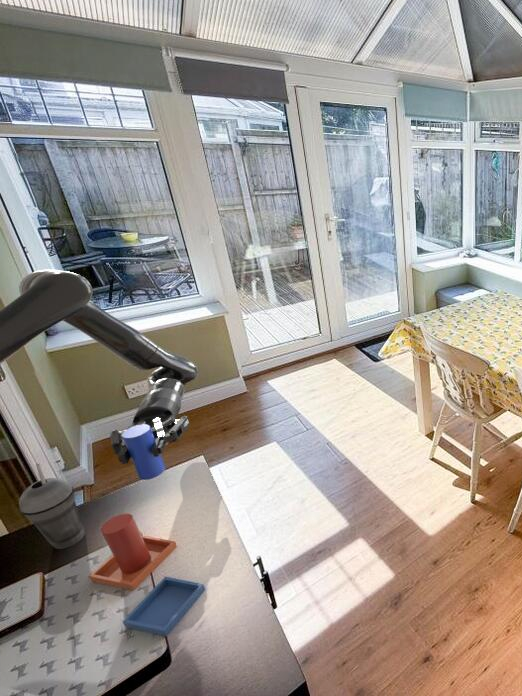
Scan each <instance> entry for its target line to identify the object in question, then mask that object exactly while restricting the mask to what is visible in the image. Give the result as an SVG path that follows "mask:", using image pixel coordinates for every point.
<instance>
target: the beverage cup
mask: <svg viewBox="0 0 522 696" xmlns="http://www.w3.org/2000/svg"><path fill="white" fill-rule="evenodd" d="M35 467H36V470H37V473H38V476H39V479H40V480H38V481H35V482H33V483H32V484H30V485H29V486H28V487H26V489H25V490H23V492H22V494H21V495H20V498H19V499H18V504H19V505H18V506H19V511H20V514H22V515H23V516H24V517H25V518H27V519H28V520H30V521H31V523H32V524H33V525H34V526H35V527H36V529H37V530H38V531H39V532H40V534H41V535H42V536H43V537H44V538H45V540H47V542H48V543H49V544H50V546H52V547H53V548H54V549H56V550H63V549H64V550H65V549H67V548H70V547H72V546H74V545H76V544H77V543H79V542H80V541H81V540H82V539H83V538H84V536H85V533H86V532H85V531H86V530H85V527H84V524H83V521H82V518H81V515H80V512H79V508H78V506H77V503H76V498H75V497H76V496H75V488H74V487H73V486H72V485H71V484H70V483H69V482H68V481H66V480H64V479H62V478H57V477H50V478H45V476H44V473H43V470H42V466H41V463H36V464H35Z"/></svg>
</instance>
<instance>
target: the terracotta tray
mask: <svg viewBox="0 0 522 696" xmlns="http://www.w3.org/2000/svg"><path fill="white" fill-rule="evenodd" d="M141 536H142V538H143V540H144V542H145V544H146V546H147V549H148V551H149V553H150V555H151V558H150V561H149V562H148V564H147V565H146V566H145V567H143V568H142V569H140V570H139V571H137V572H134V573H131V574H124V573H122V571H121V569H120V567H119V565H118V563H117V561H116V559H115V557H114V556H113V554H112V555H111V556H110V557H109V558H108V559H106V560H105V562H103V563H102V564H101V565H100V566H99V567H98V568H97V569H96V570H94V571H93V572H92V573H91V574H90V575H88V576H89V578H90V581H91V582H92V583H96V584H100V585H101V584H102V585H105V586H111V587H115V588H119V589H125V590H129V591H135V590H136V589H137V588H138V587H139V586H140V585H141V584H142V583H143V582H144V581H145V580H146V579H147V578H148V577H149V576H150V575H151V574H152V573H153V572H154V571H155V570H156V569H157V568H158V567H159V566H160V565H161V564H162V563H163V562H164V560H166V559H167V557H169V556H170V555H171V554H172V553H173V551H174V550H176V549H177V548H178V545H177V543H176V541H174V540H169V539H163V538H159V537H154V536H148V535H144V534H141Z"/></svg>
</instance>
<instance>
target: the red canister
mask: <svg viewBox="0 0 522 696" xmlns="http://www.w3.org/2000/svg"><path fill="white" fill-rule="evenodd" d="M100 532H101V534H102V537H103V538H104V539H105V542H106V545H108V548H109V549H110V552H111V553H112V555H113V556H114V557H115V559H116V561H117V563H118V565H119V567H120V569H121V571H122V573H124V574H131V573H134V572H137V571H139V570H140V569H142V568H143V567H145V566H146V565H147V564H148V562H149V561H150V558H151V555H150V553H149V551H148V549H147V546H146V544H145V542H144V540H143V538H142V536H141V535H142V534H141V531H140V529H139V527H138V525H137V523H136V520H135V518H134V516H133V514H131V513H128V512H125V513H121V514H118V515H115V516H113V517H111V518H109V519H108V520H107V521H106V522H104V524H103V525H102V526H101V528H100Z"/></svg>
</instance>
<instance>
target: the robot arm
mask: <svg viewBox="0 0 522 696" xmlns="http://www.w3.org/2000/svg"><path fill="white" fill-rule="evenodd" d="M18 292H19V296H18V297H17V298H15V299H13V301H11V302H10V303H9V304H7V305H6V306H4V307H3V308H1V309H0V365H2V364H3V363H4V362H6V361H7V360H8V359H10V358H11V357H13V356H14V355H15V354H17V353H18V352H19V351H20V350H22V349H23V348H24V347H26V345H28V344H29V343H30V342H32V341H33V340H34V339H36V338H37V337H38V336H40V335H41V334H43V333H45V332H46V331H48V330H49V329H51V328H53V327H55V326H56V325H58V324H59V323H61V322H65V323H66V324H68V325H70V326H72V327H73V328H75V329H77V330H79V331H80V332H82V333H83V334H85V335H86V336H88V337H89V338H91V339H92V340H94V341H95V342H96V343H98V344H100V345H101V346H102V347H104V348H105V349H106V350H108V351H110V352H111V353H112V354H114V355H115V356H116V357H118V358H119V359H121V360H122V361H124V362H125V363H127V365H129V366H131V367H133V368H134V369H136V370H137V371H141V372H144V371H149V370H153V369H155V370H154V371H152V372H151V373H150V374H149V375H148V377H147V379H146V381H147V382H146V383H147V387H148V391H147V393H146V395H145V396H144V397H143V399H142V401H141V402H140V404H139V406H138V408H137V410H136V412H135V415H134V416H133V420H132V424H130V425H129V426H127V428H126V429H125V430H121V431H119V430H118V429H114V430H113V429H112V430H111V431H110V432H109V437H110V445H111V448H112V450H113V453H114V455H117V459H118V461H119V463H121V464H122V465H127V464H129V462H130V460H131V456H130V454H129V452H128V449H127V447H126V444H125V442H124V440H123V437H122V434H123V432H124V431H126V430H127V429H129V428H131V427H133V426H136V425H141V424H147V425H149V426H150V427H151V430H152V433H153V435H154V438H155V442H154V444H153V447H152V453H153V455H154V457H157V456H159V455H160V454H163V453H164V451H165V449H166V446H167V445H168V444H169V443H170V442H173V443H175V442H178V441H179V440H180V438H181V437H182V436H183V435H184V434H185V432H186V431H187V430H188V429H189V427H190V426H191V424H190V421H189V418H188V416H187V415H184V416H181V417H180V418H179V419H178V416H179V413H180V411H181V408H182V400H183V398H184V395H185V385H187V384H189V383H191V382H192V381H194V380H195V379H197V377H198V375H199V370H198V366H197V365H196V364H195V362H193V361H192V360H191V359H189V358H187V357H185V356H183V355H180V354H177V353H175V352H172V351H170V350H167V349H165V348H163V347H161V346H159V345H158V344H157V343H155V341H153V340H152V339H150V338H149V337H148V336H146V335H144V333H142V332H141V331H139V330H138V329H136V328H134V327H132V326H131V325H129V324H127V323H125V322H124V321H122V320H120V319H118V318H117V317H115V316H113V315H111V314H110V313H109V312H107V311H105V310H104V309H103V308H101V307H100V306H98V305H97V304H96V303H95V302H93V300H91V299H92V297H93V287H92V285H91V283H90V281H89V280H88V279H86V278H85V277H84V276H81V275H80V274H77V273H74V272H70V271H67V270H66V271H64V270H58V269H43V270H36V271H33V272H30V273H28V274H27V275H25V276H24V277H23V278H22V279H21V281H20V283H19V285H18ZM156 368H157V369H156Z"/></svg>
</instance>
